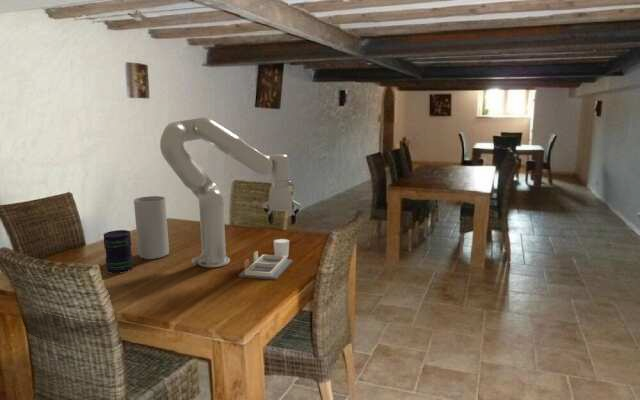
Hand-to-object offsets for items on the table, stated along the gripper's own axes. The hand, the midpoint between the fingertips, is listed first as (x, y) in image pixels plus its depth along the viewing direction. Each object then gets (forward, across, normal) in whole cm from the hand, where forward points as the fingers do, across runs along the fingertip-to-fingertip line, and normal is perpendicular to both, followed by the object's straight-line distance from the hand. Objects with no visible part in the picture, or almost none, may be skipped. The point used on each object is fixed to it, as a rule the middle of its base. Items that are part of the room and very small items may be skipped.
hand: (282, 223), depth 198 cm
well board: (+14, +2, +16) cm, 22 cm away
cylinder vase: (+13, +56, +11) cm, 58 cm away
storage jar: (+13, +59, +30) cm, 67 cm away
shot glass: (+15, +1, 0) cm, 15 cm away
